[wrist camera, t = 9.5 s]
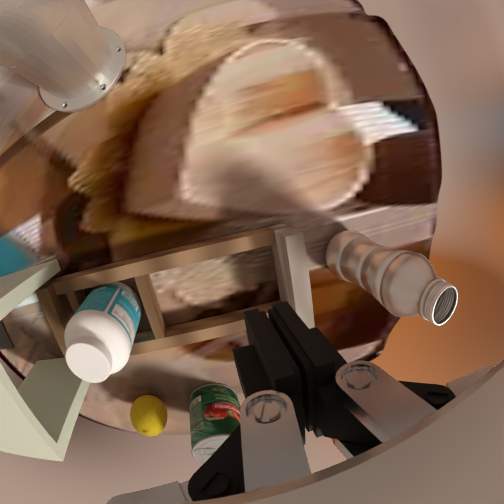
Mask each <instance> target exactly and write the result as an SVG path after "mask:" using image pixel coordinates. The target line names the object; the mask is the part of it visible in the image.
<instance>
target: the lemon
mask: <svg viewBox="0 0 504 504" xmlns="http://www.w3.org/2000/svg"><path fill="white" fill-rule="evenodd" d="M130 417H131V422H132V425H133V426H134V428H135V429H136V430H137V431H138V432H139V433H141V434H143V435H146V436H155V435H157V434H159V433H161V432H162V431H163V429H164V427H165V425H166V422H167V410H166V407H165V405H164V404H163V402H162V401H161V400H160V399H158V398H157V397H155V396H152V395H143V396H141V397H139V398H137V399H136V400H135V401H134V403H133V405H132V407H131V413H130Z"/></svg>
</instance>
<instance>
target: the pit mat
mask: <svg viewBox="0 0 504 504" xmlns="http://www.w3.org/2000/svg"><path fill="white" fill-rule="evenodd" d="M13 347H14V346H13V344H12V342H11V340H10V338H9V336H8V334H7V331H6V329H5V327H4V325H3V323H2V320H0V349H7V348H13Z"/></svg>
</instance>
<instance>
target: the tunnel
mask: <svg viewBox="0 0 504 504" xmlns="http://www.w3.org/2000/svg"><path fill="white" fill-rule="evenodd" d="M59 271H61V270H60V266H59V263H58V260H57V259H55V260H52V261H49V262H45V263H42V264H39V265H36V266H32V267H29V268H26V269H23V270H20V271H16V272H13V273H10V274H7V275H4V276H1V277H0V320H2V319H3V318H4V317H5V316H6V315H7V314H8V313H9V312H11V311H12V310H13V309H14V308H15V307H16V306H17V305H19V304H20V303H21V302H22V301H23V300H24V299H26V298H27V297H28V296H29V295H30V294H32V293H33V292H34V291H35V290H37V289H38V288H39V287H40V286H41V285H43V284H44V283H45V282H47V281H48V280H49V279H50V278H52V277H53V276H54V275H55V274H57V273H58V272H59ZM89 385H90V382H87V381H85V380H82V379H81V378H79V377H78V376H76V375H75V374H74V373H73V372H72V371H71V370H70V368H69V366H68V365H67V362H66V358H56V359H48V360H39V361H37V362H36V363H35V365H34V366H33V368H32V369H31V371H30V372H29V374H28V375H27V377H26V378H25V380H24V381H23V383H22V384H21V386H20V387H19V389H18V391H17V390H16V388H15V387H14V385H13V383H12V382H11V380H10V379H9V377H8V375H7V374H6V372H5V370H4V368H3V367H2V365H1V363H0V451H3V452H7V453H12V454H17V455H22V456H28V457H33V458H40V459H47V460H56V461H63V459H64V456H65V453H66V449H67V446H68V443H69V440H70V437H71V434H72V431H73V428H74V425H75V422H76V419H77V416H78V414H79V411H80V408H81V405H82V403H83V400H84V397H85V395H86V392H87V390H88V387H89Z"/></svg>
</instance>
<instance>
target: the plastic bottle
mask: <svg viewBox="0 0 504 504" xmlns="http://www.w3.org/2000/svg"><path fill="white" fill-rule="evenodd" d="M326 262H327V265H328V267H329V269H330V270H331V271H332V273H333V274H334V275H335V276H336V277H338V278H339V279H342V280H345V281H347V282H352V283H354V284H356V285H358V286H361V287H363V288H364V289H365V290H367V291H368V292H369V293H370V294H372V295H373V296H374V297H375V298H376V299H377V300H378V301H379V302H380V303H381V304H382V305H383V306H384V307H385V308H386V309H387V310H388V311H389V312H391V313H392V314H393V315H396V316H400V317H412V316H417V315H420V316H421V317H422V318H424V319H425V320H429V321H430V322H432V323H433V324H435V325H438V326H439V325H442V324H444V323H446V322H447V321H448V320H449V318H450V317H451V315H452V314H453V312H454V310H455V308H456V305H457V300H458V292H457V289H456V288H455V287H454V286H453V285H451V284H449V283H447V282H446V281H445V280H443V279H442V278H437V276H436V273H435V271H434V269H433V266H432V265H431V263H430V262H429V260H428V259H426V258H425V257H424V256H423V255H421V254H420V253H416V252H412V251H405V250H397V249H392V248H389V247H385V246H381V245H379V244H377V243H375V242H373V241H371V240H370V239H369V238H367V237H366V236H365V235H363V234H361V233H359V232H357V231H342V232H340V233H338V234H336V235H335V236H334V237H333V238H332V239H331V241H330V242H329V244H328V246H327V250H326Z"/></svg>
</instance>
